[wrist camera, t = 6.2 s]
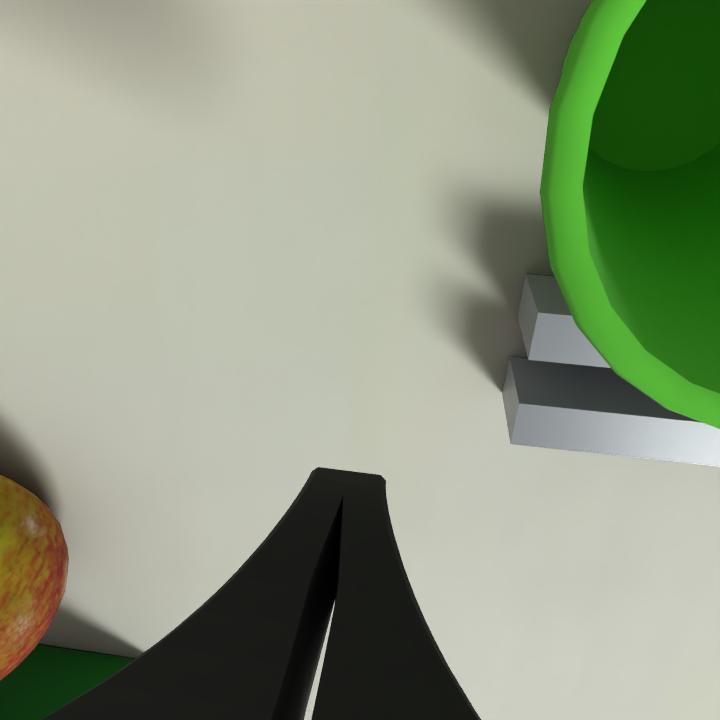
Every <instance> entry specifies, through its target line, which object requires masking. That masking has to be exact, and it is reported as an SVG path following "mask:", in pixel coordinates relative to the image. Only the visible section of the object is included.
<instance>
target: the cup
mask: <svg viewBox="0 0 720 720" xmlns="http://www.w3.org/2000/svg"><path fill="white" fill-rule="evenodd" d="M540 196H541V203H542V211H543V218H544V225H545V233H546V240H547V248H548V255H549V262H550V266H551V268H552V271H553V273H554V275H555V278H556V280H557V282H558V285H559V287H560V289H561V292H562V294H563V296H564V299H565V301H566V303H567V306H568V308H569V310H570V313H571V315H572V317H573V320H574V322H575V324H576V326H577V327H578V328H579V330H580V331H581V332H582V333H583V334H584V336H585V337H586V338H587V339H588V340H589V342H590V343H591V344H592V345H593V347H594V348H595V349H596V350H597V351H598V353H599V354H600V355H601V356H602V357H603V359H604V360H605V361H606V362H607V364H608V365H609V366H610V367H611V368H612V370H613V371H614V372H615V373H616V374H617V375H619V376H620V377H621V378H623V379H624V380H626V381H627V382H629V383H630V384H631V385H633V386H634V387H636V388H637V389H639V390H640V391H642V392H643V393H644V394H646V395H647V396H649V397H650V398H652V399H653V400H654V401H656V402H657V403H659V404H660V405H662V406H663V407H664V408H666V409H668V410H671V411H673V412H676V413H678V414H681V415H684V416H686V417H689V418H692V419H694V420H697V421H700V422H702V423H705V424H708V425H710V426H713V427H715V428H718V429H720V0H592V2H591V4H590V5H589V7H588V9H587V10H586V12H585V14H584V15H583V17H582V19H581V22H580V25H579V27H578V29H577V30H576V32H575V34H574V35H573V37H572V39H571V42H570V45H569V48H568V51H567V54H566V56H565V59H564V62H563V67H562V75H561V78H560V81H559V84H558V87H557V90H556V92H555V95H554V98H553V101H552V104H551V107H550V110H549V119H548V127H547V136H546V145H545V153H544V162H543V170H542V179H541V188H540Z"/></svg>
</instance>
